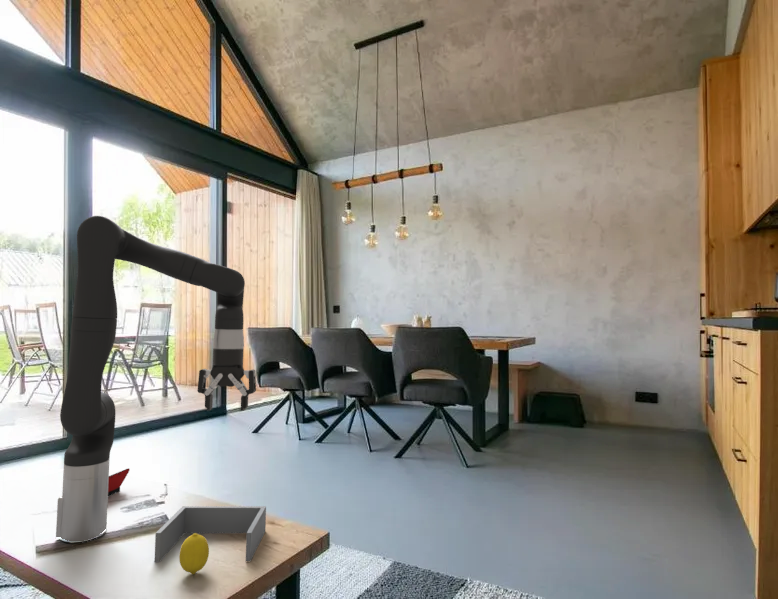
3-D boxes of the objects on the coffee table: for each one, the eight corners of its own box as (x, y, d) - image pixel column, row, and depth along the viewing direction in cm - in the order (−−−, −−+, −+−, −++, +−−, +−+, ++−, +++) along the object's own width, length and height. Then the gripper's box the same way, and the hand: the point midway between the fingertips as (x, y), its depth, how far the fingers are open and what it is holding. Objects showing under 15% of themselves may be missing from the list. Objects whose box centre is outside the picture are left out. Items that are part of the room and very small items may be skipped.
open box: (154, 562, 102) (155, 533, 102) (181, 531, 117) (182, 506, 117) (250, 561, 103) (251, 532, 103) (265, 531, 118) (266, 506, 118)
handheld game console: (98, 489, 145) (100, 464, 146) (130, 493, 143) (131, 467, 144) (63, 505, 133) (64, 477, 133) (96, 508, 131) (97, 480, 131)
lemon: (197, 582, 94) (199, 540, 95) (172, 579, 95) (174, 537, 96) (213, 568, 100) (214, 529, 100) (189, 565, 101) (190, 526, 101)
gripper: (195, 347, 121) (193, 412, 121) (252, 348, 122) (250, 413, 121) (205, 345, 129) (203, 407, 128) (259, 346, 129) (257, 407, 129)
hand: (226, 410), depth 125 cm, fingers open, 8 cm apart
